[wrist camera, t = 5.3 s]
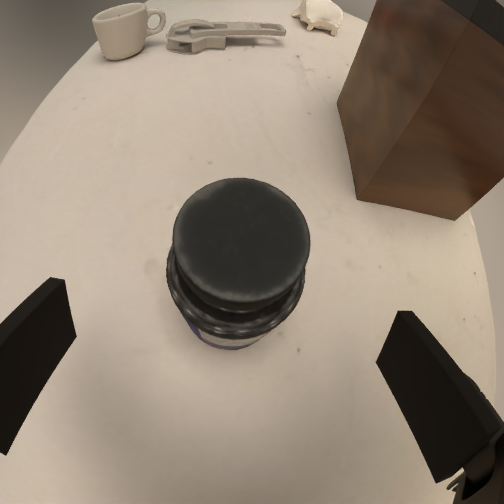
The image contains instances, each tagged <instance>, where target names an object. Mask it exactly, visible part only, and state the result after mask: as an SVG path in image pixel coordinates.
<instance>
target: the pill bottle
mask: <svg viewBox="0 0 504 504" xmlns="http://www.w3.org/2000/svg"><path fill="white" fill-rule="evenodd" d="M172 239H173V243H172V246H171V249H170V251H169V255H168V258H167V268H166V273H167V275H166V277H167V283H168V287H169V290H170V292H171V296H172V298H173V300H174V302H175V304H176V306H177V307H178V309H179V310H180V312H181V313H182V315H183V317H184V318H185V320H186V322H187V323H188V325H189V326H190V328H191V329H192V331H193V332H194V333H195V334H196V335H197V336H198V337H199V339H200V340H202V341H203V342H205V343H207V344H209V345H211V346H213V347H216V348H220V349H227V350H237V349H241V348H244V347H248V346H250V345H251V344H253V343H255V342H256V341H258V340H259V339H260V338H262V337H263V336H265V335H266V334H267V333H268V332H270V331H271V330H272V329H274V328H275V327H277V326H278V325H279V324H280V323H281V322H282V321H284V320H285V319H286V318H287V317H288V316H289V314H291V312H292V311H293V310H294V308H295V307H296V305H297V303H298V301H299V299H300V297H301V294H302V291H303V287H304V283H305V266H306V263H307V260H308V257H309V252H310V234H309V229H308V225H307V222H306V220H305V217H304V215H303V214H302V212H301V211H300V209H299V208H298V206H297V205H296V203H295V202H294V201H293V200H292V199H291V198H290V197H289V196H287V195H286V194H285V193H283V192H282V191H281V190H279V189H278V188H276V187H274V186H272V185H270V184H268V183H265V182H261V181H258V180H255V179H247V178H228V179H223V180H219V181H216V182H213V183H211V184H209V185H206V186H204V187H203V188H201V189H200V190H198V191H196V192H195V193H194V194H193V195H192V196H191V197H190V198H189V199H187V201H186V202H185V203H184V205H183V206H182V208H181V209H180V211H179V213H178V216H177V217H176V220H175V224H174V228H173V238H172Z"/></svg>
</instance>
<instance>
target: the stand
mask: <svg viewBox="0 0 504 504" xmlns="http://www.w3.org/2000/svg"><path fill="white" fill-rule="evenodd" d="M337 106H338V109H339V113H340V117H341V121H342V126H343V130H344V134H345V139H346V143H347V148H348V153H349V157H350V162H351V168H352V173H353V178H354V184H355V190H356V196H357V200H362V201H367V202H373V203H378V204H383V205H388V206H393V207H398V208H402V209H407V210H411V211H416V212H420V213H425V214H429V215H433V216H437V217H441V218H446V219H450V220H453V221H455V220H456V219H458V218H459V217H460V216H461V215H462V214H464V213H465V212H466V211H467V210H468V209H469V208H470V207H472V206H473V205H474V204H475V203H476V202H477V201H478V200H480V199H481V198H482V197H483V196H484V195H485V194H486V193H488V192H489V191H490V190H491V189H492V188H493V187H494V186H495V185H496V184H497V183H498V182H499V181H500V180H501V179H503V178H504V46H503V45H502V44H501V43H499V42H498V41H497V40H496V39H495V38H493V37H492V36H491V35H489V34H488V33H487V32H486V31H484V30H483V29H482V28H480V27H479V26H477V25H476V24H475V23H473V22H472V21H470V20H469V19H468V18H466V17H465V16H464V15H462V14H461V13H459V12H458V11H456V10H455V9H453V8H452V7H450V6H449V5H447V4H446V3H444V2H443V1H441V0H377V2H376V4H375V6H374V9H373V12H372V14H371V17H370V20H369V23H368V25H367V28H366V30H365V33H364V35H363V38H362V40H361V43H360V46H359V48H358V51H357V53H356V56H355V58H354V61H353V63H352V66H351V68H350V71H349V73H348V76H347V79H346V81H345V83H344V86H343V88H342V91H341V93H340V96H339V98H338V101H337Z"/></svg>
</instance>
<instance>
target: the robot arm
mask: <svg viewBox="0 0 504 504" xmlns="http://www.w3.org/2000/svg"><path fill="white" fill-rule="evenodd" d="M76 337H77V336H76V332H75V328H74V324H73V319H72V315H71V310H70V306H69V301H68V295H67V290H66V284H65V280H63V279H58V278H52V277H50V278H49V279H47V280H46V281H45V282H44V283H43V284H42V285H41V286H40V287H38V288H37V289H36V290H35V291H34V292H33V293H32V294H31V295H30V296H29V297H27V298H26V299H25V300H24V301H23V302H22V303H21V304H20V305H19V306H18V307H17V308H16V309H15V310H14V311H13V312H12V313H11V314H10V315H9V316H8V317H7V318H6V319H5V320H4V321H3V322H2V323H1V324H0V453H2V454H4V455H5V456H6V455H7V453H8V451H9V449H10V447H11V445H12V443H13V441H14V439H15V437H16V435H17V433H18V432H19V430H20V428H21V426H22V424H23V422H24V420H25V419H26V417H27V415H28V413H29V411H30V410H31V408H32V406H33V404H34V403H35V401H36V399H37V398H38V396H39V394H40V392H41V391H42V389H43V387H44V386H45V384H46V383H47V381H48V379H49V378H50V376H51V375H52V373H53V371H54V370H55V368H56V367H57V365H58V364H59V362H60V361H61V359H62V358H63V356H64V355H65V353H66V352H67V350H68V349H69V347H70V346H71V344H72V343H73V341H74V340H75V338H76ZM376 364H377V365H378V367H379V369H380V371H381V373H382V375H383V377H384V378H385V380H386V382H387V384H388V386H389V388H390V390H391V392H392V394H393V395H394V397H395V399H396V401H397V403H398V405H399V407H400V409H401V411H402V413H403V415H404V417H405V419H406V421H407V423H408V425H409V427H410V429H411V431H412V433H413V435H414V437H415V439H416V441H417V443H418V445H419V448H420V450H421V452H422V454H423V456H424V458H425V460H426V463H427V465H428V467H429V469H430V471H431V474H432V476H433V478H434V480H435V483H439V482H441V481H443V480H445V479H447V478H450V477H452V476H453V475H454V474H455V473H456V472H457V471H459V470H460V469H461V468H462V467H463V469H464V472H463V473H462V474H461V475H459V476H458V477H457V478H456V479H455V480H453V481H452V482H451V483H450V484H449V485H448V487H447V490H449V489H450V488H452V487H453V486H454V485H456V484H457V483H458V485H457V486H456V487H454V488H453V490H452V491H454V492H456V494H455V497H454V501H453V504H504V422H503V421H502V419H501V418H500V416H499V415H498V413H497V412H496V410H495V409H494V408H493V406H492V405H491V403H490V402H489V401H488V399H486V397H485V395H484V394H483V392H480V388H479V387H478V386H477V384H476V383H475V382H474V381H473V380H472V379H471V378H470V377H468V376H467V375H466V374H465V373H463V372H462V370H461V369H460V368H459V366H458V365H457V364H456V363H455V361H454V360H453V359H452V358H451V356H450V355H449V354H448V353H447V351H446V350H445V349H444V348H443V347H442V345H441V344H440V343H439V342H438V341H437V339H436V338H435V337H434V336H433V335H432V333H431V332H430V331H429V330H428V329H427V328H426V326H425V325H424V324H423V323H422V322H421V321H420V319H419V318H418V317H417V316H416V315H415V314H414V313H413V312H412V311H397V314H396V317H395V319H394V322H393V324H392V327H391V329H390V331H389V334H388V336H387V338H386V341H385V343H384V345H383V348H382V350H381V352H380V354H379V356H378V359H377V361H376Z"/></svg>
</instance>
